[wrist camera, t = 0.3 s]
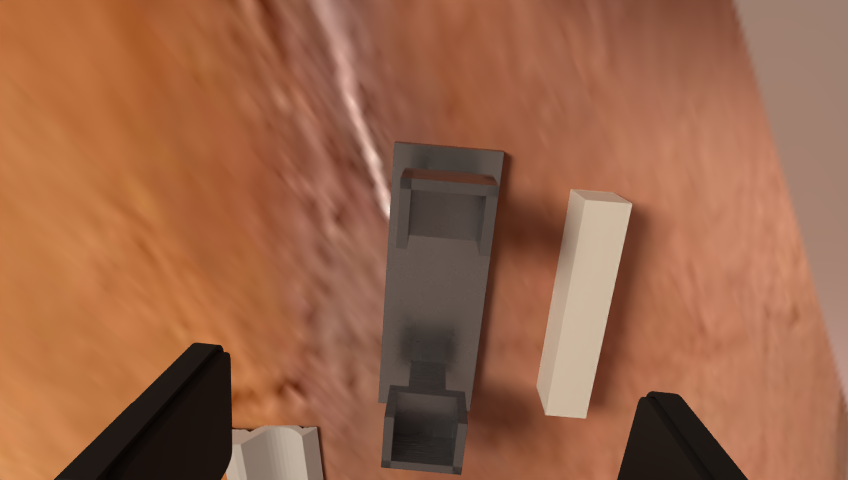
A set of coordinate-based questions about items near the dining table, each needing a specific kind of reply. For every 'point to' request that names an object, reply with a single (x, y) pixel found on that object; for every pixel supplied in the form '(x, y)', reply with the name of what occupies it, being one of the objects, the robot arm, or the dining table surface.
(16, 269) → the dining table surface
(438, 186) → the bracket stand
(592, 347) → the rail
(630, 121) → the dining table surface
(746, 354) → the dining table surface
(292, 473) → the crown molding
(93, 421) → the dining table surface
